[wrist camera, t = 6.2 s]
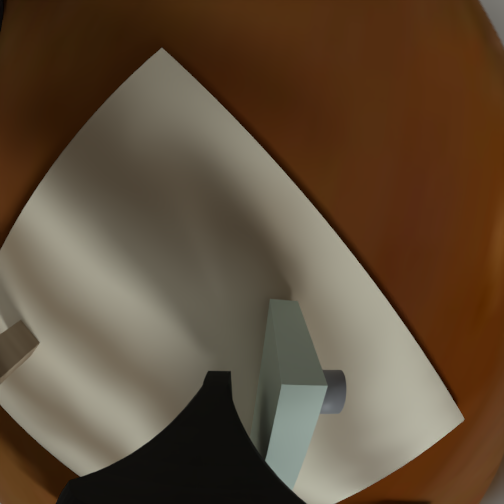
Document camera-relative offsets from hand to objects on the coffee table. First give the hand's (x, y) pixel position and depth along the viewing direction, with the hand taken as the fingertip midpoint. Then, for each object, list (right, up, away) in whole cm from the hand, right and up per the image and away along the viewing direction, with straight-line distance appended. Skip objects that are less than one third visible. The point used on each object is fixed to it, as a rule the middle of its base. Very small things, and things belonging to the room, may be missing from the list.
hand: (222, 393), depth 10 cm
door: (+2, -4, +3) cm, 5 cm away
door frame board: (-3, -3, +4) cm, 6 cm away
